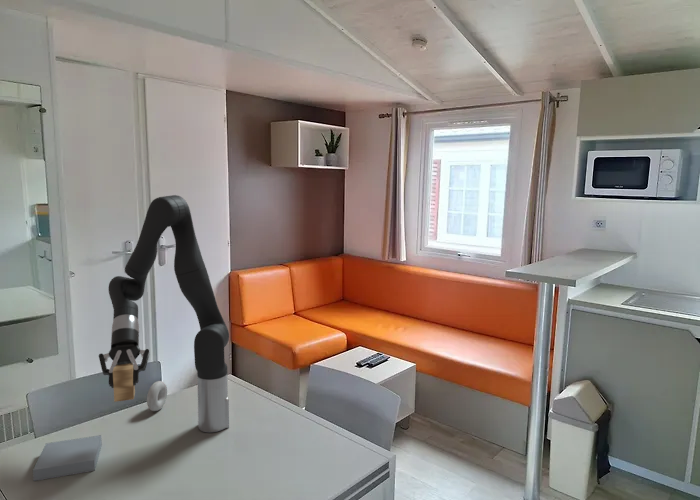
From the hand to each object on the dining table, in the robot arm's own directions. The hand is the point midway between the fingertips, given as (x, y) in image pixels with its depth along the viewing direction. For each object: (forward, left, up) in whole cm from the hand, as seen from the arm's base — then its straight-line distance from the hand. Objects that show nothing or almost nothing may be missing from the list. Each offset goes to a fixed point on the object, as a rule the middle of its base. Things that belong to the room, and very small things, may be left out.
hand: (123, 385), depth 134 cm
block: (0, -2, -4) cm, 5 cm away
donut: (-8, -25, -20) cm, 33 cm away
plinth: (+14, +1, -20) cm, 24 cm away
